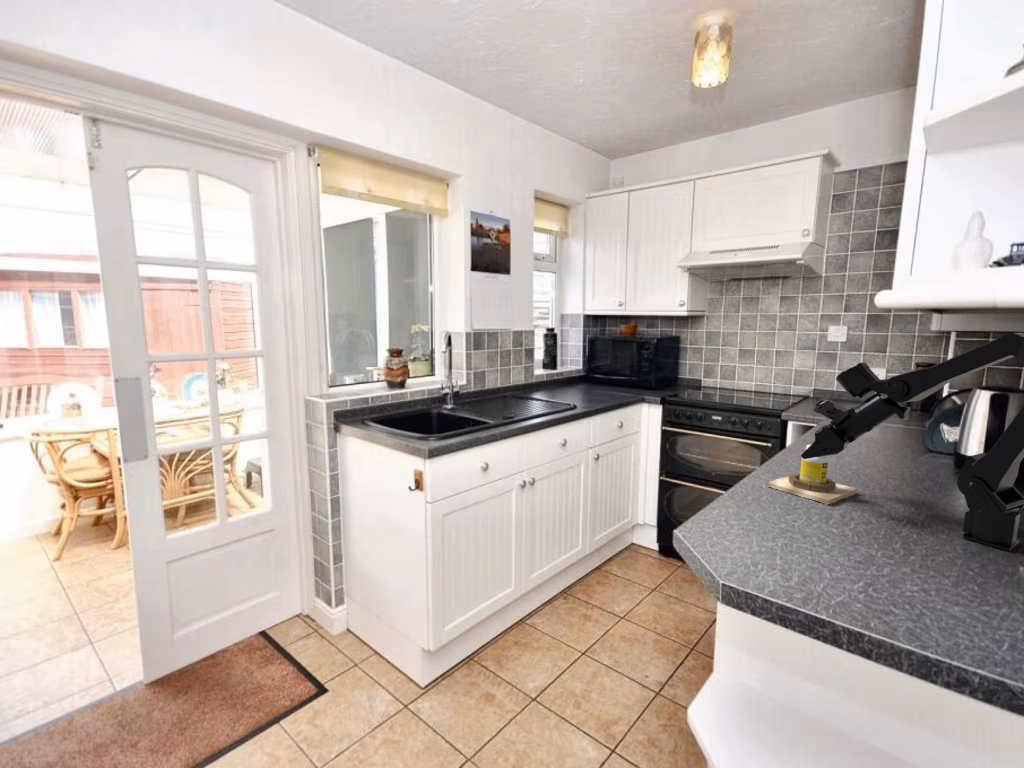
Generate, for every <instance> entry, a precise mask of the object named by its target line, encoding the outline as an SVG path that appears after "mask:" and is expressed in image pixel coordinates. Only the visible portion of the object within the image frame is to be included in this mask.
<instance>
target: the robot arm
mask: <svg viewBox="0 0 1024 768" xmlns="http://www.w3.org/2000/svg"><path fill="white" fill-rule="evenodd" d="M1014 357H1017V358H1020V359H1024V332H1008V333H1004V334H1002V335H1000V336H998V337H997V338H995V339H993V340H991V341H989V342H985V343H984V344H981V345H979V346H977V347H974V348H972V349H969V350H967V351H965V352H963V353H962V352H961V354H958V355H956V356H953V357H951V358H949V359H946V360H944V361H942V362H940V363H937V364H935V365H932V366H930V367H929V366H928V367H925V368H920V369H916V370H912V371H909V372H908V371H907V372H904V373H900V374H896V375H893V376H891V377H889V378H882V379H880V378H879V377H878V376H877V375H876V373H874V371H873V370H872V369H871V368H870V366H869V365H868V364H867V363H866V362H859V363H857V364H856V365H854V366H852V367H849V368H848V369H846V370H843V371H842V372H840V373H839V374H838V375H837V377H836V378H835V381H836V382H837V383H838V384H839V385H840V386H841V387H842V389H844V391H845V392H846V393H847V394H848V395H849V396H850V397H851V398H852V400H857V399H859V400H860V401H863V402H861V403H859V404H857V405H856V406H852V407H851V408H849V409H848V408H847V407H844V406H843V405H842V404H839V403H837V402H836V401H833V400H832V399H830V398H827V397H824V396H823V397H821V398H819V400H817V402H816V403H815V405H814V406H813V409H812V411H813V412H815V413H817V414H820V415H822V416H824V417H826V418H828V419H830V420H831V421H829V423H828V424H825V425H823V426H820V427H819V429H817V430H815V431H814V434H813V435H814V441H813V442H812V443H811V444H809V445H810V447H809V448H808V449H807V450H806V449H805V451H804V452H803V453H802V454H801V455H800V457H801V459H802V458H803V459H809V458H814V457H820V456H826V457H827V456H832V455H833V456H834V455H835V456H836V455H838V454H839V453H841V452H843V451H844V450H845V449H846V448H847V447H848V445H849V444H850V443H853V442H854V441H856V440H857V439H859V438H860V437H862V436H864V435H865V434H867V433H869V432H871V431H872V430H873V429H875V428H876V427H878V426H880V425H882V424H884V423H885V422H887V421H888V420H890V419H891V418H893V417H895V416H897V417H898V418H899V419H901V420H905V421H907V420H909V419H910V411H911V407H909V406H903V405H902V404H901V403H907V402H908V403H909V402H917V401H921V400H924V399H925V398H927V397H929V396H931V395H933V394H935V393H936V392H938V391H939V390H940V389H942V388H943V387H944V386H945V385H947V384H949V383H951V382H953V381H956V380H958V379H961V378H963V377H966V376H969V375H971V374H973V373H976V372H978V371H982V370H983V369H986V368H988V367H991V366H994V365H997V364H999V363H1001V362H1004V361H1006V360H1008V359H1012V358H1014ZM1023 458H1024V405H1023V406H1022V407H1021V408H1020V410H1019V411H1018V412H1017V414H1016V415H1015V416H1014V418H1013V419H1012V421H1011V422H1010V423H1009V425H1008V426H1007V427H1006V428H1005V430H1004V432H1003V433H1002V434H1001V435H1000V437H999V438H998V439H997V441H996V442H995V443H994V445H993V446H992V448H991V449H990V450H989V451H988V452H987V453H985V452H980V453H977V454H972V455H969V456H967V458H966V460H965V461H964V464H963V466H962V467H961V468H960V469H959V470H957V471H956V472H955V475H958V477H957V478H956V485H957V488H958V490H959V492H960V493H961V495H964V499H965V503H966V506H967V508H968V510H966V511H965V512H964V517H963V524H962V525H963V526H962V532H963V534H962V538H963V539H965V540H969V541H973V542H976V543H979V544H982V545H987V546H990V547H994V548H998V549H1001V550H1005V551H1011V550H1013V548H1015V547H1016V546H1017V545H1018V544H1019V543H1020V540H1019V539H1017V538H1018V537H1017V536H1018V532H1019V525H1020V517H1021V512H1020V511H1021V510H1022V509H1023V508H1024V495H1023V494H1022V493H1021V492H1020V491H1019V490H1018V489H1017V488H1016V487H1015V486H1014V484H1015V481H1016V479H1017V477H1018V475H1019V470H1020V465H1021V462H1022V460H1023ZM1018 511H1019V512H1018Z"/></svg>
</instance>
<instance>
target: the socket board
mask: <svg viewBox="0 0 1024 768" xmlns="http://www.w3.org/2000/svg"><path fill="white" fill-rule="evenodd" d="M767 486H769V487H772V488H775V489H778V490H782V491H785V492H788V493H791V494H795V495H798V496H801V497H800V498H802V497H805V498H809V499H812V500H816V501H819V502H822V503H825V504H830V503H833V502H835V501H838V500H840V499H843V498H845V497H847V496H850V495H852V496H854V495H853V494H855V493H857V494H858V488H855V487H852V486H847V485H844V484H839V483H837V482H835V481H833V480H832V479H831V478H829V477H826V484H825V485H820V484H810V483H806V482H802V481H800V472H799V473H798V472H796V473H793V474H790V475H787V476H783V477H780V478H777V479H774V480H771V481H767V482H766V487H767ZM775 489H774V490H775ZM778 490H777V491H778ZM785 492H784V493H785ZM788 493H787V494H788ZM791 494H790V495H791ZM795 495H794V496H795ZM855 495H856V494H855ZM798 496H797V497H798ZM850 497H851V496H850ZM805 498H804V499H805ZM847 498H848V497H847ZM845 499H846V498H845ZM812 500H811V501H812ZM843 500H844V499H843ZM840 501H841V500H840ZM838 502H839V501H838ZM822 503H821V504H822ZM835 503H836V502H835ZM825 504H824V505H825ZM833 504H834V503H833ZM830 505H831V504H830Z"/></svg>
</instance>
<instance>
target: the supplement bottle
mask: <svg viewBox="0 0 1024 768" xmlns="http://www.w3.org/2000/svg"><path fill="white" fill-rule="evenodd" d="M810 445H811V444H807V445H806V447H805V451H806V450H807V449H808V448H809V447H810ZM828 465H829V459H828V457H827V456H820V457H814V458H809V459H803V458H802V457H801V462H800V472H799V474H800V481H802V482H806V483H810V484H820V485H825V484H826V478H827V477H828V476H827V474H828V468H829V467H828Z"/></svg>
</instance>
